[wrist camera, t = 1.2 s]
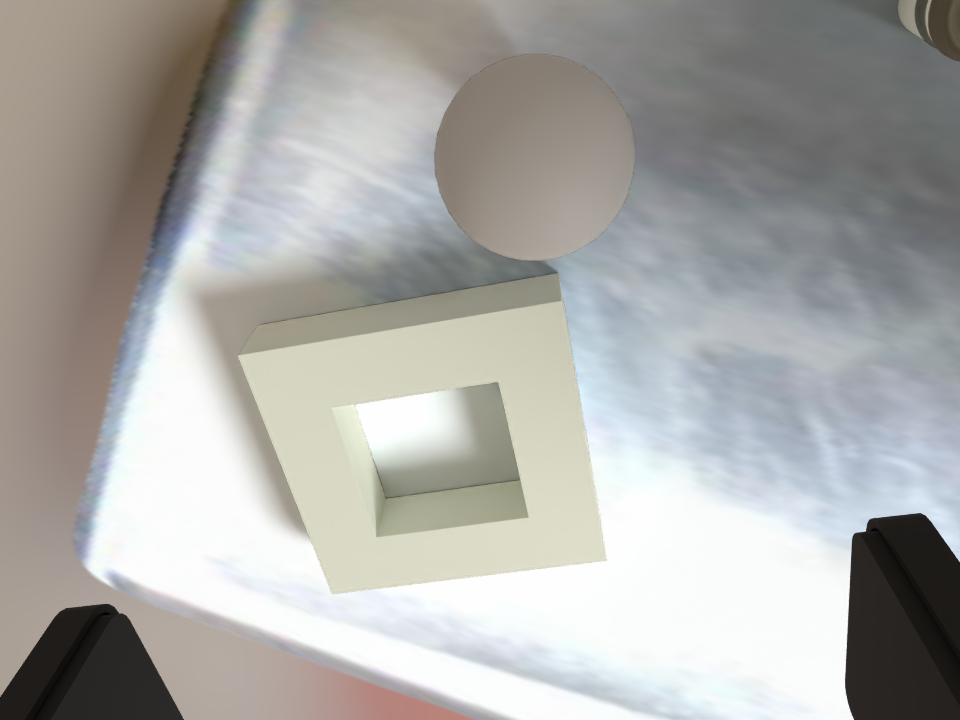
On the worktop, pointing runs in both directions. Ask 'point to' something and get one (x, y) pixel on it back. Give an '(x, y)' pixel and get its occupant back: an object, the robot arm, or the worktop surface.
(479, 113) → the lightbulb
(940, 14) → the coffee cup
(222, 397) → the worktop surface
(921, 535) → the robot arm
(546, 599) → the worktop surface
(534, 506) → the socket block
